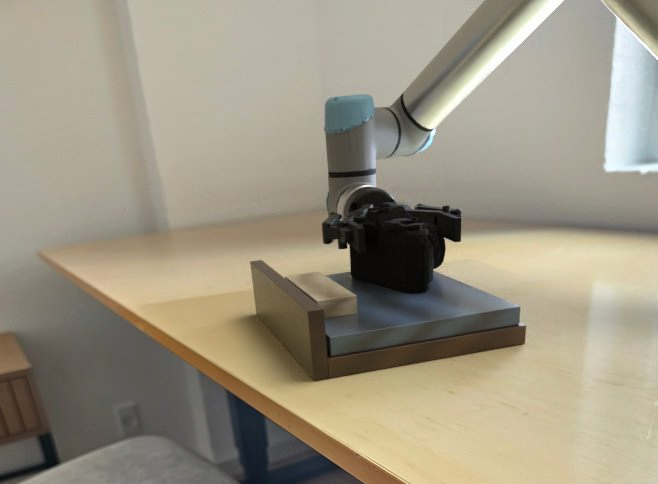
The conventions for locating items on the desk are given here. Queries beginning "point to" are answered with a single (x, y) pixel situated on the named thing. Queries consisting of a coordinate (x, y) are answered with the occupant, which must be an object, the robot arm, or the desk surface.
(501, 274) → the desk surface
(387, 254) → the film camera
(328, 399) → the desk surface
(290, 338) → the bed
